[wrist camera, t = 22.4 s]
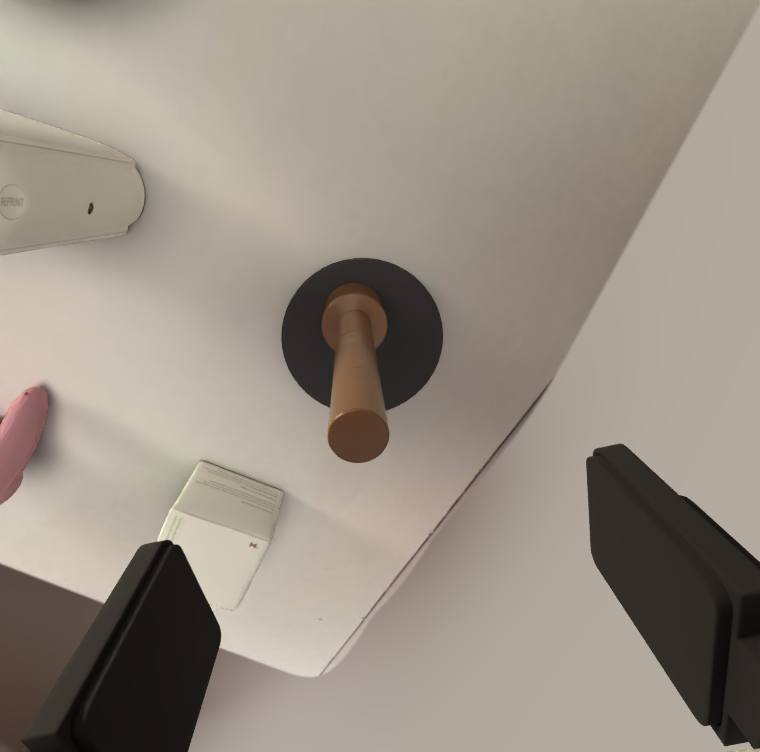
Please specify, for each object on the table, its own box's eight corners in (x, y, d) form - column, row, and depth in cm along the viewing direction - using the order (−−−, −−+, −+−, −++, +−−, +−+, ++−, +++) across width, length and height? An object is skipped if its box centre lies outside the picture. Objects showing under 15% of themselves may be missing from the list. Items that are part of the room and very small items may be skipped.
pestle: (381, 280, 24) (417, 374, 11) (385, 337, 25) (422, 483, 12) (321, 284, 24) (287, 385, 11) (327, 342, 25) (304, 494, 12)
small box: (199, 456, 28) (169, 507, 23) (286, 489, 29) (274, 543, 25) (169, 526, 30) (136, 586, 25) (253, 554, 31) (236, 616, 26)
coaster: (426, 240, 24) (427, 241, 24) (452, 393, 27) (454, 395, 27) (261, 279, 24) (259, 280, 24) (307, 425, 28) (306, 428, 27)
